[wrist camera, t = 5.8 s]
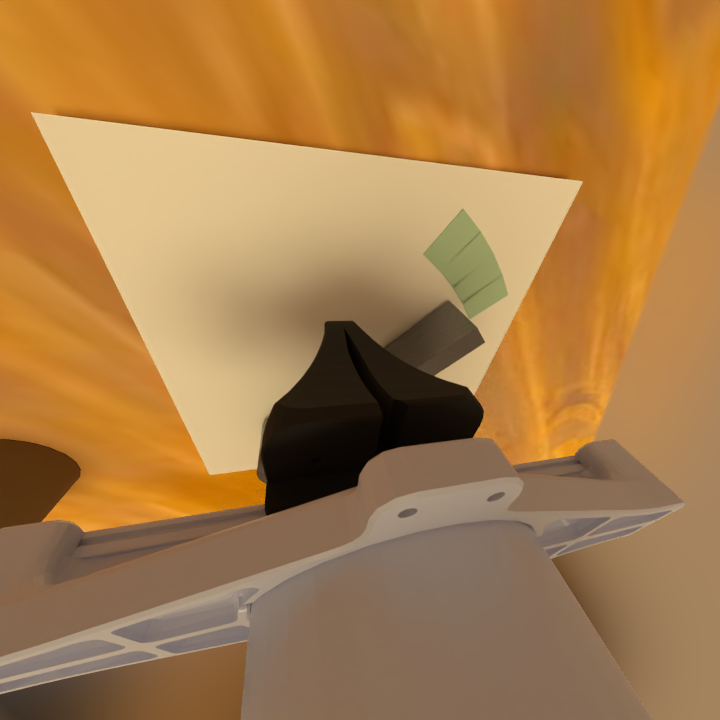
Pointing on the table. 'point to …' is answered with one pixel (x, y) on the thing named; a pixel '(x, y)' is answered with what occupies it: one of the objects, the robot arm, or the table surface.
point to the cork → (32, 481)
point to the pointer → (427, 347)
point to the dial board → (292, 257)
